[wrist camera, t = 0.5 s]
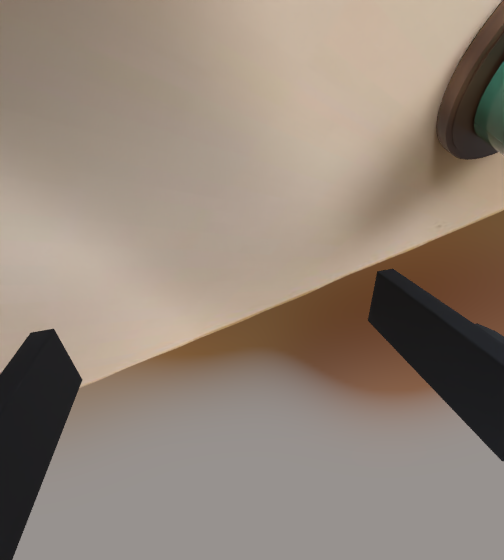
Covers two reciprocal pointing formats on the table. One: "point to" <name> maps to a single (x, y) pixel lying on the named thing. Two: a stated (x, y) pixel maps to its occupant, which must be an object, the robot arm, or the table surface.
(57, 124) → the table surface
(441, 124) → the turntable
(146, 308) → the table surface
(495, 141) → the pot
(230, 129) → the table surface
